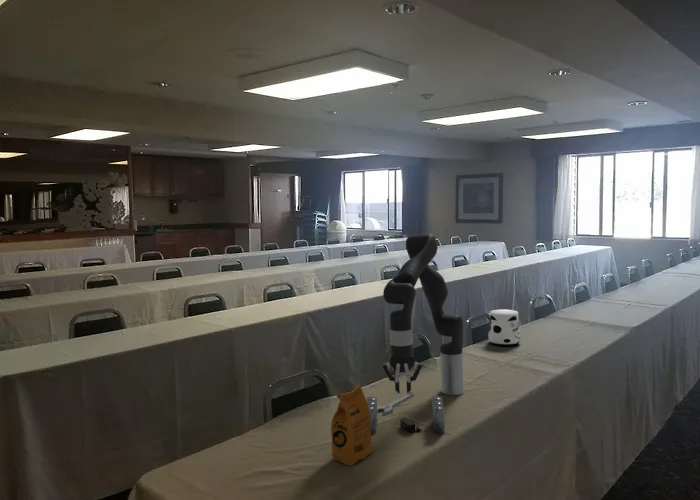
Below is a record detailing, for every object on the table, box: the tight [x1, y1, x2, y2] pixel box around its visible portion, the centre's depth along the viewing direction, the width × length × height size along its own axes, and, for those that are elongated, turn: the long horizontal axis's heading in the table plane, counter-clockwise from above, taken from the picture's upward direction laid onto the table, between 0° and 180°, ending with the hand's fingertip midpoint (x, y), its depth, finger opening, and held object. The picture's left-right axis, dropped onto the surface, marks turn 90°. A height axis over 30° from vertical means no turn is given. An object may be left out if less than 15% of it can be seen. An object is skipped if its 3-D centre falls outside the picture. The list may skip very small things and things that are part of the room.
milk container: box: [487, 308, 521, 347], centre depth 292 cm, size 17×17×18 cm
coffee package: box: [330, 384, 372, 466], centre depth 167 cm, size 10×12×22 cm
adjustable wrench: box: [377, 391, 415, 416], centre depth 210 cm, size 25×6×2 cm, turn 137°
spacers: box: [366, 396, 446, 436], centre depth 188 cm, size 13×28×9 cm, turn 84°
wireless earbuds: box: [399, 417, 422, 434], centre depth 186 cm, size 5×7×3 cm, turn 28°
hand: (403, 392), depth 176 cm, fingers open, 2 cm apart
